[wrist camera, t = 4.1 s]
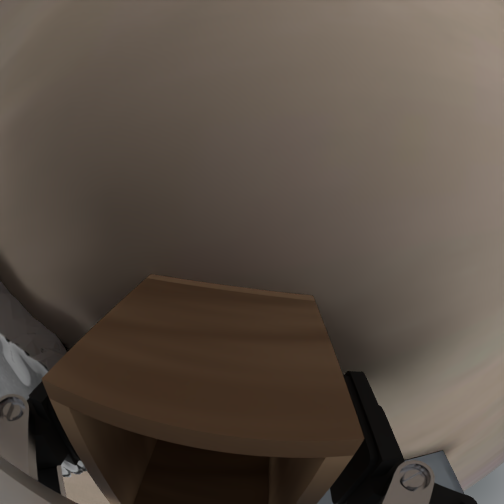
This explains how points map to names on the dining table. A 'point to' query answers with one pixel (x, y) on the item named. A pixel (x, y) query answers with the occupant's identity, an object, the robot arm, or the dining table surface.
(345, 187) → the dining table surface
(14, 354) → the brain slice
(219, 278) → the dining table surface
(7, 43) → the dining table surface
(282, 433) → the walnut crate
